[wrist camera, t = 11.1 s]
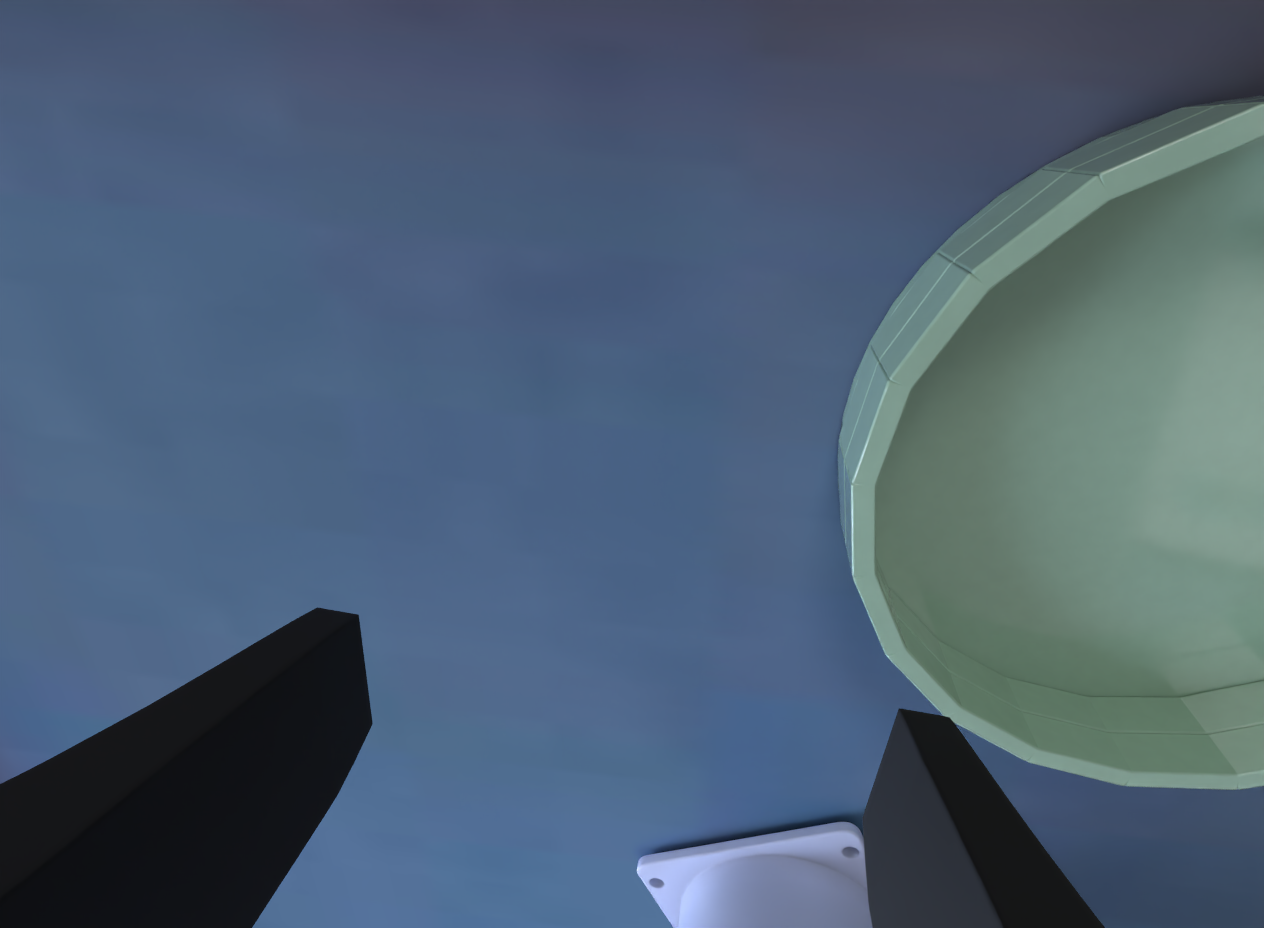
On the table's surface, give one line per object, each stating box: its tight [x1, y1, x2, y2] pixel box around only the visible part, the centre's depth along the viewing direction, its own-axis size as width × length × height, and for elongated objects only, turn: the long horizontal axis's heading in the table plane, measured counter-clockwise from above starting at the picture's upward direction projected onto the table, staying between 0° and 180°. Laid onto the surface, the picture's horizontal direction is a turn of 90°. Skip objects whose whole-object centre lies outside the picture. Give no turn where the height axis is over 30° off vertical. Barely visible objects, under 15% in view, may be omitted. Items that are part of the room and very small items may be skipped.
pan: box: [838, 95, 1264, 790], centre depth 14 cm, size 15×15×3 cm
